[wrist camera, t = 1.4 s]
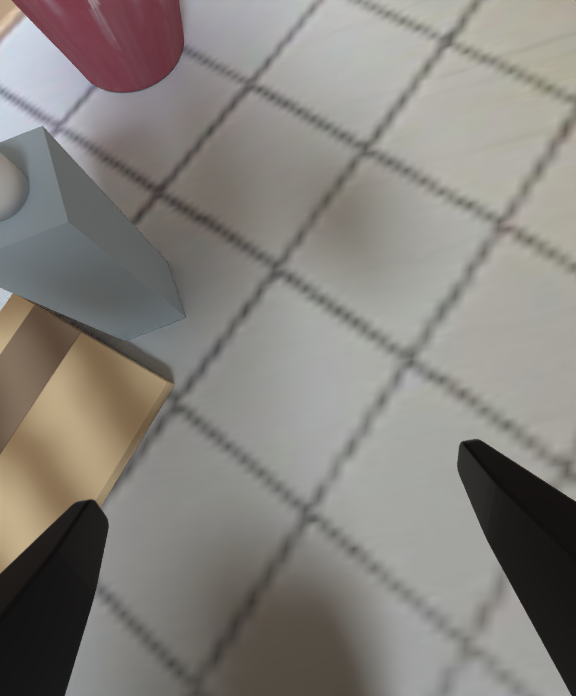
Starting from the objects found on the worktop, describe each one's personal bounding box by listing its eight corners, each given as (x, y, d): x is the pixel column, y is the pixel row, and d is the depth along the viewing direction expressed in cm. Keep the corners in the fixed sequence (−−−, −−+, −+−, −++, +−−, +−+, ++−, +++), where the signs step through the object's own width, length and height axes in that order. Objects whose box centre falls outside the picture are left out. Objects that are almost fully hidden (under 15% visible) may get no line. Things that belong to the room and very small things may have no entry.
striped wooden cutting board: (23, 635, 21) (4, 649, 20) (-126, 517, 23) (-151, 523, 22) (174, 384, 24) (166, 382, 22) (27, 298, 26) (12, 292, 25)
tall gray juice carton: (185, 317, 25) (48, 205, 12) (124, 341, 25) (-78, 254, 12) (167, 261, 26) (22, 103, 13) (108, 284, 26) (-95, 148, 13)
